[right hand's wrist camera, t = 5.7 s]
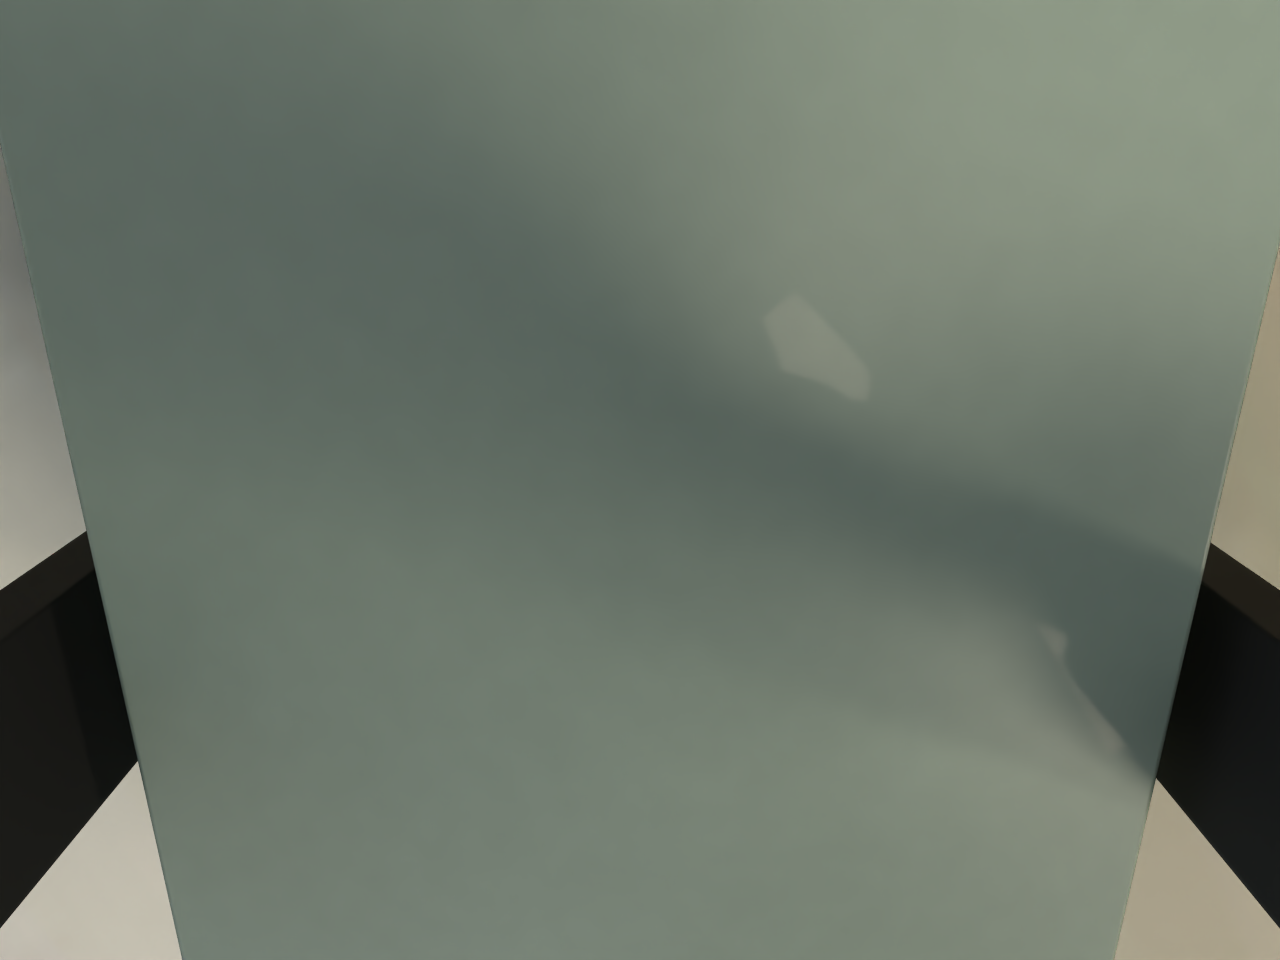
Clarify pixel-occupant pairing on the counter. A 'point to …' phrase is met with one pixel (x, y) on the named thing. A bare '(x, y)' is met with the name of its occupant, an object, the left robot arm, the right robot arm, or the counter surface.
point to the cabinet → (647, 452)
